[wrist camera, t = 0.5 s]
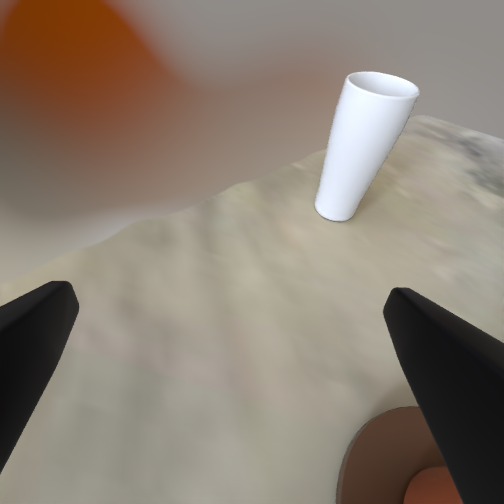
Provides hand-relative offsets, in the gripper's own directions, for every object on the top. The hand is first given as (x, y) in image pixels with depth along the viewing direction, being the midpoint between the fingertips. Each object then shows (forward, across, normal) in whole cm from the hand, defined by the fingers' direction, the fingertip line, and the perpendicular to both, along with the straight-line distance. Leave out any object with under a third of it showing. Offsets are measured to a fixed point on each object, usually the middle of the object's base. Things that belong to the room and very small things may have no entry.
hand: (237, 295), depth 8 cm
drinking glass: (+27, -13, +9) cm, 31 cm away
